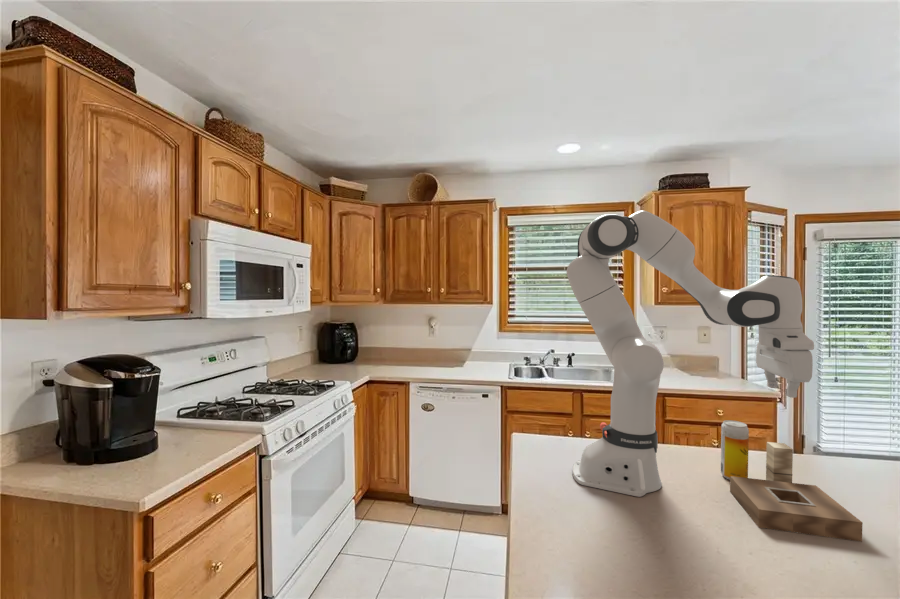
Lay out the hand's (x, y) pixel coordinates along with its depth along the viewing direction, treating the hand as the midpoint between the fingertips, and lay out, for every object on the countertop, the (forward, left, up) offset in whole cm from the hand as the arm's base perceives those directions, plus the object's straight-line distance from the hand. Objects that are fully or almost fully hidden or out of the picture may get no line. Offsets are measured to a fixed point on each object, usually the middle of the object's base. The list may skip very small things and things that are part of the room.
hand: (781, 392), depth 104 cm
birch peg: (0, 0, -25) cm, 25 cm away
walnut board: (-4, -14, -25) cm, 29 cm away
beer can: (-9, +3, -25) cm, 27 cm away
